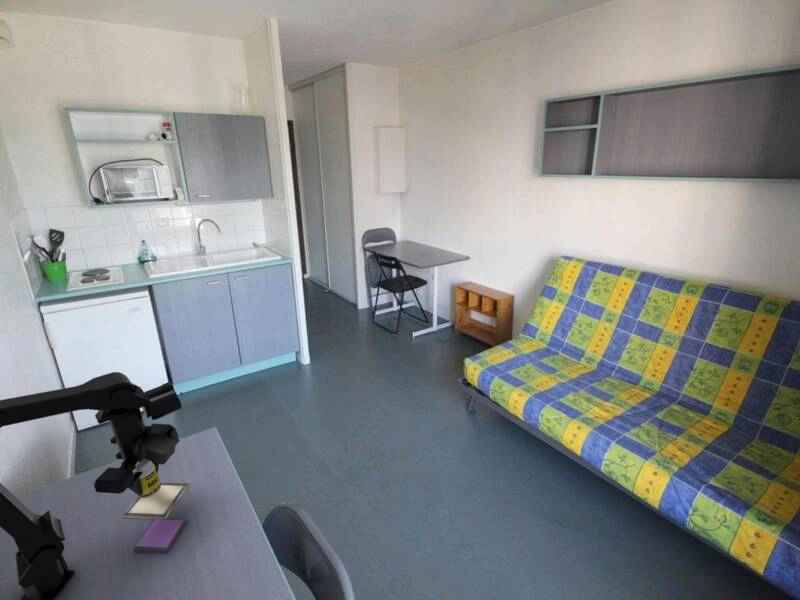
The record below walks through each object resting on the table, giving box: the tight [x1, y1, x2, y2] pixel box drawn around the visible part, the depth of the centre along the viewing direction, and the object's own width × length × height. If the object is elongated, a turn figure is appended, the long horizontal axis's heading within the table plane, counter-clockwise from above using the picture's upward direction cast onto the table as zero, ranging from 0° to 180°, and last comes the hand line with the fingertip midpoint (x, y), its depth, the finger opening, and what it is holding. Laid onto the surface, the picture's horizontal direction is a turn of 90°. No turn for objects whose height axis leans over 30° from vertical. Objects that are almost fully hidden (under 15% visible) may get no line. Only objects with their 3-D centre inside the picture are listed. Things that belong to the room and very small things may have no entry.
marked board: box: [121, 481, 190, 520], centre depth 107 cm, size 11×11×1 cm
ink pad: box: [132, 518, 189, 554], centre depth 97 cm, size 8×8×1 cm
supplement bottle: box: [136, 458, 161, 498], centre depth 95 cm, size 5×5×8 cm
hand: (147, 485), depth 96 cm, fingers closed on supplement bottle, 5 cm apart
